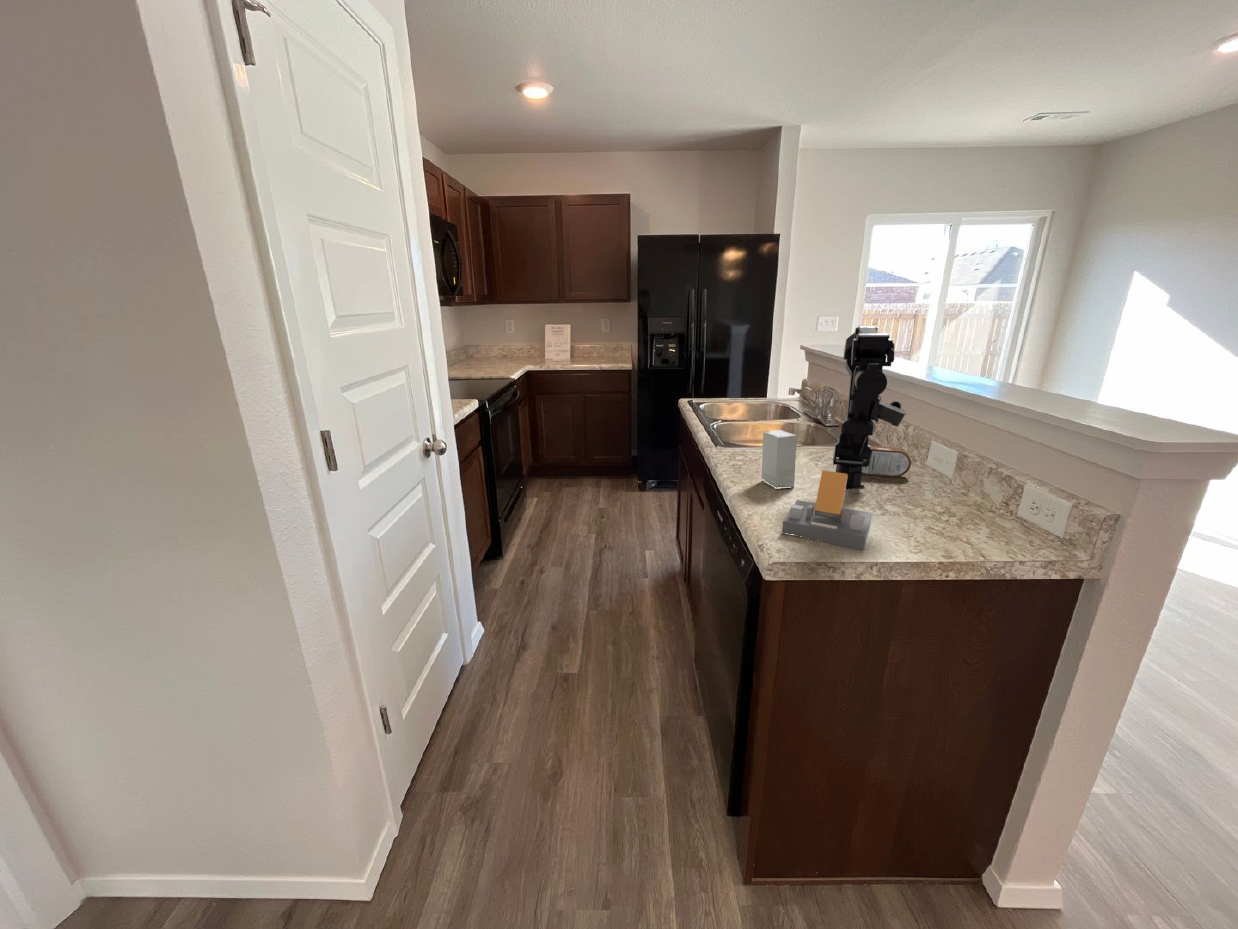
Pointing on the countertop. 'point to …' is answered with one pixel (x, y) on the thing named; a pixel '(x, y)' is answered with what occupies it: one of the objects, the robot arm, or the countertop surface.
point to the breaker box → (828, 525)
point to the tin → (888, 462)
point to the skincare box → (779, 458)
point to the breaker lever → (831, 494)
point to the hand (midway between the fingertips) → (856, 456)
